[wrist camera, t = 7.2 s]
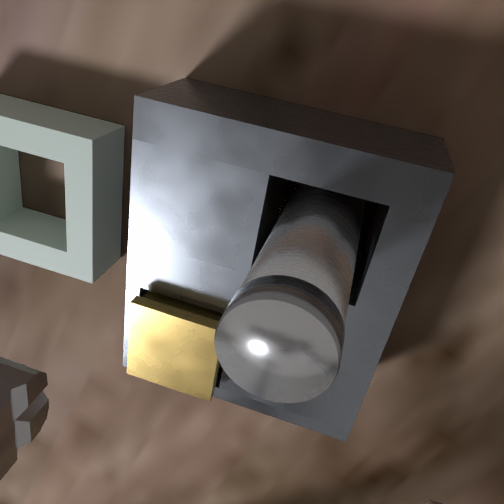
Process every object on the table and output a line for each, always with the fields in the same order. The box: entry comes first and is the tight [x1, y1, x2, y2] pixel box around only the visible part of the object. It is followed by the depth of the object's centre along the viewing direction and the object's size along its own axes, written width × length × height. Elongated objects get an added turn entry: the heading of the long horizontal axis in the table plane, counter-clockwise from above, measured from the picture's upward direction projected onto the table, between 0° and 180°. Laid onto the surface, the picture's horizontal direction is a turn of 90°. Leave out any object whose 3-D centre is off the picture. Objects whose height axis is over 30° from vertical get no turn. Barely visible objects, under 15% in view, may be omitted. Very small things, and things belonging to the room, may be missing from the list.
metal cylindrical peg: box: [214, 183, 366, 403], centre depth 18 cm, size 4×4×12 cm
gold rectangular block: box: [127, 290, 224, 402], centre depth 25 cm, size 4×4×6 cm
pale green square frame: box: [0, 94, 125, 283], centre depth 25 cm, size 8×8×3 cm
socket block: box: [123, 78, 455, 442], centre depth 23 cm, size 12×14×5 cm
